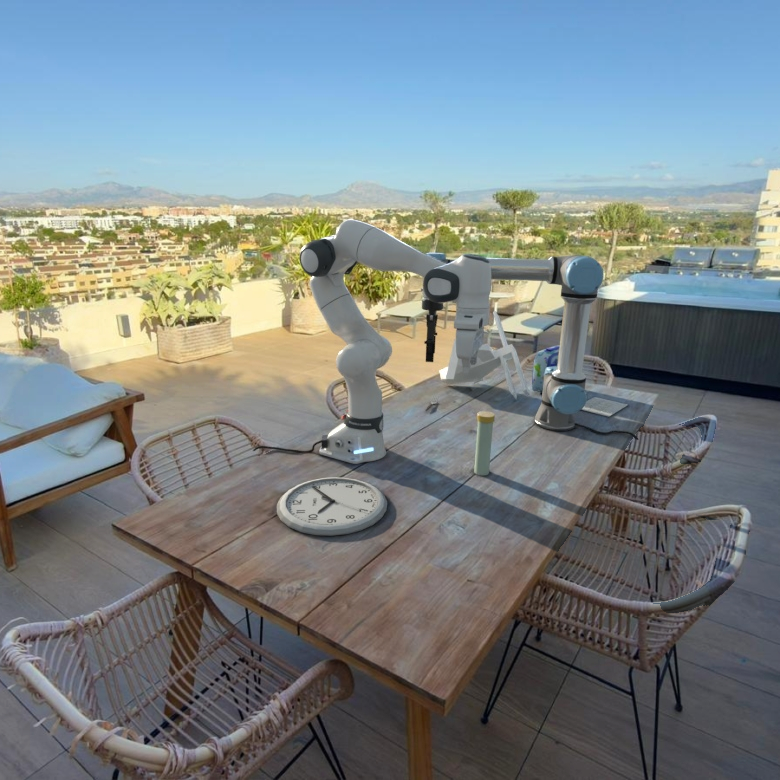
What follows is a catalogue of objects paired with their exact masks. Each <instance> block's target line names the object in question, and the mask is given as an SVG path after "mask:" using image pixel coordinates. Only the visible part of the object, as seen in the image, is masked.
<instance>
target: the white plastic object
mask: <svg viewBox="0 0 780 780" xmlns="http://www.w3.org/2000/svg"><path fill="white" fill-rule="evenodd" d="M492 315H493V319H494V321H495V324H496V325H495V326H496V328H497V332H498V335H499V338H500V342H501V345H502V347H500V348H498V349H496V350H495V349H493V348H492V347H491V346H490V344H489V343H488V342H487V343H483V345H482V346H481V347H480V348H479V349H478V355H477V363H476V364H475V365H473V364H470V372H469V373H464V372H463V365H462V359H459V358H457V354H456V338H454V340H453V344H452V349H451V353H450V357H449V362H448V366H446V367H444V368H442V369H440V370H439V371H438V372H439V376H440V381H442V383H443V384H444V385H445V386H449V385H458V384H467V383H468V384H469V383H473V384H477V383H480V382H482V381H484V378H485V377H486V376H487V375H489V374H490V373H492V372H494V371H495V370H496V369H497V368H499V367H500V366H502V370H503V373H504V376H505V380H506V383H507V386H508V390H509V393H510V394H511V395H512V397H513V398H514V399H515V400H517V392H516V391H517V390H516V388H515V385H514V381H513V378H512V375H511V371H510V369H509V365H508V361H510V360H513V363H514V366H515V369H516V372H517V376H518V380H519V382H520V385H521V389H522V391H523V393H524V395H525V396H526V397H528V396H531V395H530V390H529V388H528V387H529V386H528V384H527V381H526V378H525V375H524V371H523V369H522V368H523V367H522V366H521V362H520V359H519V355H518V352H517V349H516V347H515V346H514V345H513V343H511V344H508V341H507V337H506V334H505V331H504V328H503V325H502V321H501V318H500V315H499V314H498V312H497V311H496V310H495V311H492Z"/></svg>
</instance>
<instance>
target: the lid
mask: <svg viewBox="0 0 780 780" xmlns="http://www.w3.org/2000/svg"><path fill="white" fill-rule="evenodd" d="M495 419H496V414H495V413H494V412H491V411H487V410H484V411H483V410H482V411H478V412H477V413H476V420H477V422H478V421H479V422H483V423H492V422H493V423H494V422H495Z"/></svg>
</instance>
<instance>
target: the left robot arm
mask: <svg viewBox="0 0 780 780" xmlns="http://www.w3.org/2000/svg"><path fill="white" fill-rule="evenodd" d="M298 257H299V258H298V259H299V264H300V267H301V268H302V270H303V272H305V274H306V275H308V276H310V280H309V283H308V284H309V288H310V291H311V294H312V297H313V300H314V302H315V304H316V306H317V308H318V310H319V312H320V313H321V315H322V317H323V319H324V320H325V323H326V324H327V326H328V328H329V330H330V331H331V333H333V335H335V336H337V337H338V338H340V339H341V340H342V341H343V342H344V343H345V344H347V345H345V346H344V347H343V348H342V349H341V350H340V351H339V352H338V354H337V355H336V358H335V366H336V369H337V371H338V373H339V374H340V375H341V376H342V377H343V379H344V381H345V385H346V389H347V402H348V409H346V411H345V413H343V415H342V416H340V417H341V419H340V420H341V421H342V422H341V423H340V424H339V425H337V426H336V427H334V428H333V429H332V430H331V431H330V432H329V433H328V434H322V435H321V440H317V441H315V442H314V443H313V444H312V446H311V449H308V450H299V449H291V448H283V447H277V446H265V445H259V446H256V447H254V448H253V449H252V452H255V451H257V450H259V449H268V450H276V451H277V450H278V451H282V452H292V453H299V454H300V453H304V454H305V453H312V452H314V450H315V448H316V446H317V445H318V444H321V446H320V447H319V455H321V456H324V457H326V458H327V457H328V458H332V459H335V460H338V461H342V462H346V463H348V464H353V465H358V464H362V463H368V462H374V461H378V460H381V459H383V458H384V457H386V456H387V449H386V447H385V441H384V434H383V433H384V432H383V431H384V424H385V423H384V422H385V421H384V413H383V390H382V388H381V387H380V386H379V384H378V381H377V374H376V373H377V370H379V369H380V368H383V367H384V366H385V365H386V364H387V363H388V362H389V360H390V359H391V357H392V355H393V346H392V344H391V341H389V339H387V338H386V337H385V336H383V335H381V334H380V333H379V332H378V331H377V330H376V329H375V328H374V327H373V326H372V325H371V323H370V322H369V321H368V320H367V319H366V317H365V316H364V315H363V313H362V312H361V310H360V309H359V307H358V305H357V302H356V301H355V299H354V298H353V295H352V294H351V292H350V291H349V289H348V287H347V286H346V283H345V281H344V280H345V279H344V278H345V275H347V276H348V275H350V274H351V273H352V271H353V270H354V268H355V267H356V266H357V265H358V264H360V265H362V266H364V267H367V268H368V269H372V270H374V271H379V272H407V273H412V274H414V275H418V276H420V277H422V278H423V277H424V281H423V280H422V288H423V290H424V293H425V295H426V296H427V298H428V299H429V300H431V301H432V302H435V303H443V304H446V303H451V302H454V303H455V308H456V309H455V318H454V320H453V321H454V322H453V329H455V339H456V354H457V358H459V359H462V365H463V372H464V373H469V372H470V364H473V365H475V364H476V363H477V355H478V349H479V348H480V347H481V346H482V345H483V344H484V338H485V337H484V334H485V327H486V326H489V324H490V313H491V312H490V311H491V303H490V294H491V291H492V279H491V265H490V262H489V260H488V259H487V258H488V257H485V256H482V255H478V254H471V253H464V254H461V256H460V257H457V258H458V259H457V258H456V259H457V260H456V259H454V260H455V261H453V262H451V263H445V262H443V261H441V260H438V259H436V258H434V257H432V256H429V255H427V254H426V253H425V252H422V251H420V250H418V249H416V248H413V247H412V246H410V245H408V243H407V244H406V243H405V242H403V241H401V240H400V239H398V238H396V237H395V236H393V235H392V234H389V233H388V232H386V231H385V230H383V229H380V228H379V227H377V226H374V225H372V224H369V223H366V222H364V221H360V220H357V219H346V220H344V221H342V222H341V223H340V224H339V225H338V226H337V229H336V231H335V234H333V235H328V236H325V237H322V238H319V239H313V240H311V241H309V242H307V243H305V244H304V245H303V246H302V247H301V249H300V250H299V256H298Z"/></svg>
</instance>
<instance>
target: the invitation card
mask: <svg viewBox="0 0 780 780" xmlns="http://www.w3.org/2000/svg"><path fill="white" fill-rule="evenodd" d="M628 406H629V404H627V403H623V402H618V401H614V400H609V399H605V398H601V397H596V396H593V397H592V398H590V399H587V401H586V404H585V406H584V407H583V408H582V409H581V410H580V411H584V412H587V413H593V414H596V415H600V416H604V417H608V418H609V417H611V416H613V415H614V414H616V413H617V412H619V411H621V410H623V409H624V408H626V407H628Z"/></svg>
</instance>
